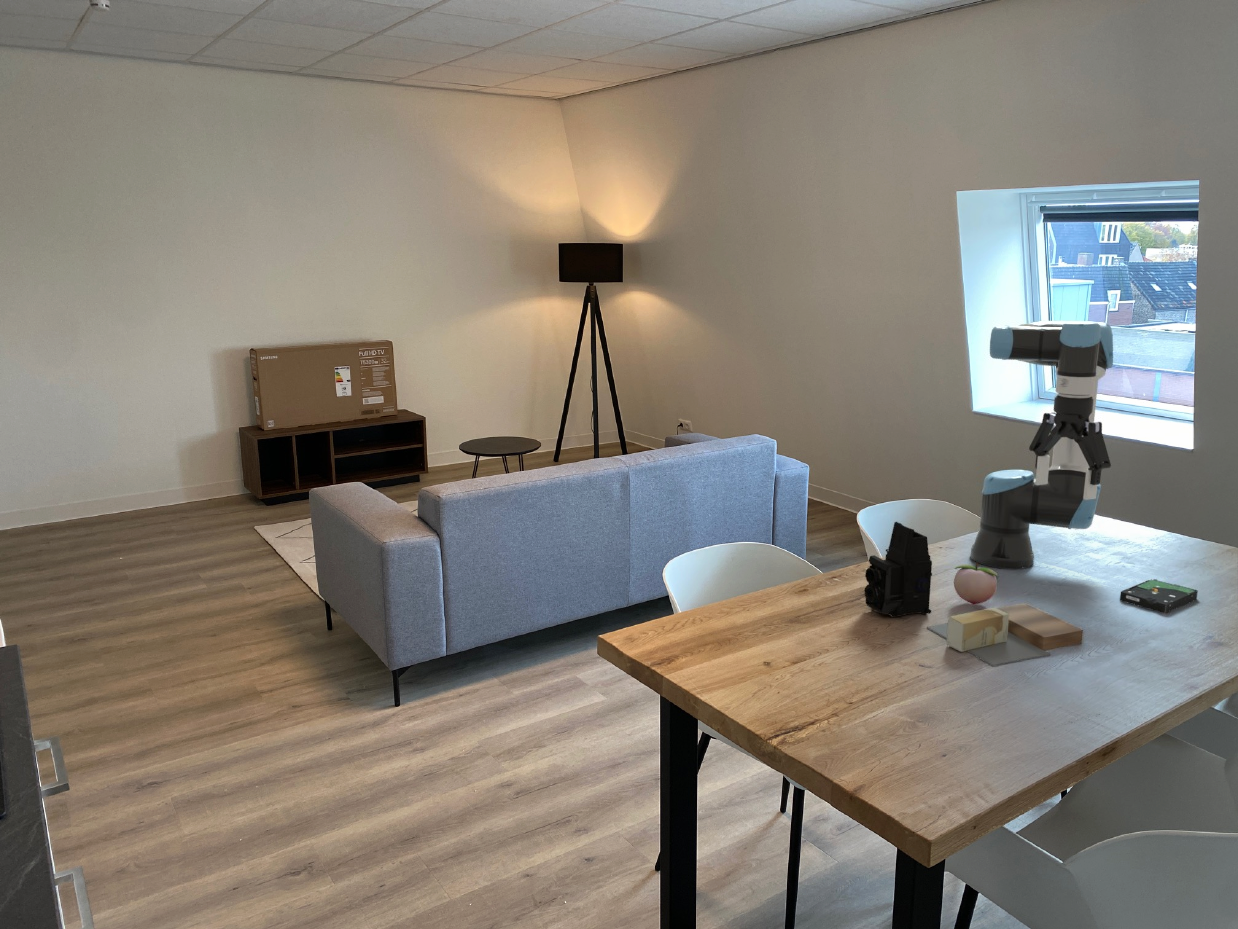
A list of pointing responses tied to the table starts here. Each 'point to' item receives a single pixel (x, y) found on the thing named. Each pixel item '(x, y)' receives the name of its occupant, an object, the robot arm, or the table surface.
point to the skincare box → (977, 629)
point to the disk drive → (1158, 595)
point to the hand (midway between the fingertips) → (1064, 491)
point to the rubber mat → (1000, 649)
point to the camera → (900, 575)
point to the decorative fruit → (975, 583)
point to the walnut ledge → (1041, 627)
